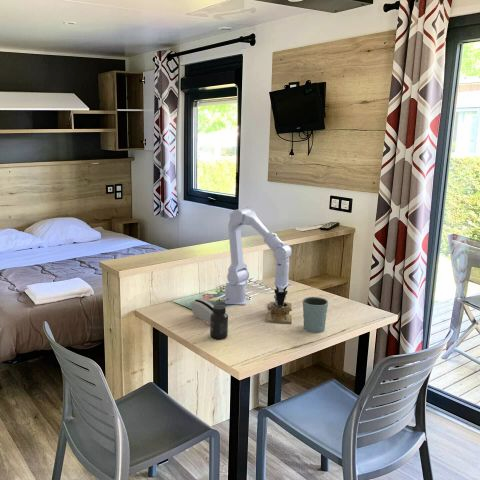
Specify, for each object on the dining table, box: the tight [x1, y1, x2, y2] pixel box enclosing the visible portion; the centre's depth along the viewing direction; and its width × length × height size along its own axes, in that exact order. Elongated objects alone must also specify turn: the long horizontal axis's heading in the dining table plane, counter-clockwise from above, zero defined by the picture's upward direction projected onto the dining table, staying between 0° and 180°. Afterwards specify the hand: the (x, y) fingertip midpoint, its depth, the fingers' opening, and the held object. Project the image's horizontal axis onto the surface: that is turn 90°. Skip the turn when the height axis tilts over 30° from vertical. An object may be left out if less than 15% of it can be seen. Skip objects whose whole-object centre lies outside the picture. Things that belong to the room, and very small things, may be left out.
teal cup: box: [302, 296, 329, 334], centre depth 198 cm, size 10×10×12 cm
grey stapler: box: [190, 298, 215, 325], centre depth 204 cm, size 17×5×10 cm, turn 39°
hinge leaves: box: [267, 301, 293, 324], centre depth 215 cm, size 10×23×4 cm, turn 174°
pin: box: [273, 294, 287, 307], centre depth 215 cm, size 5×5×8 cm
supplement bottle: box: [209, 304, 229, 341], centre depth 188 cm, size 7×7×12 cm
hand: (280, 302), depth 215 cm, fingers open, 7 cm apart
